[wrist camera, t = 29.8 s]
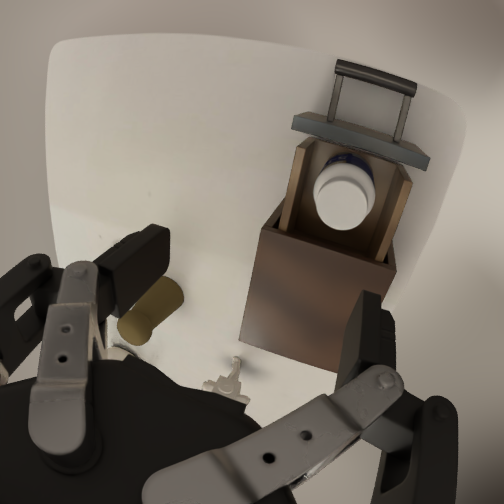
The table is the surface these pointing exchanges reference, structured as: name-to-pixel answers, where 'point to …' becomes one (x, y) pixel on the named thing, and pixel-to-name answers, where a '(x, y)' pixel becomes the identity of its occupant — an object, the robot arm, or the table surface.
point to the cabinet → (306, 294)
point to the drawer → (384, 171)
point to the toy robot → (228, 384)
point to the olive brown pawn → (150, 311)
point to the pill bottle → (344, 191)
